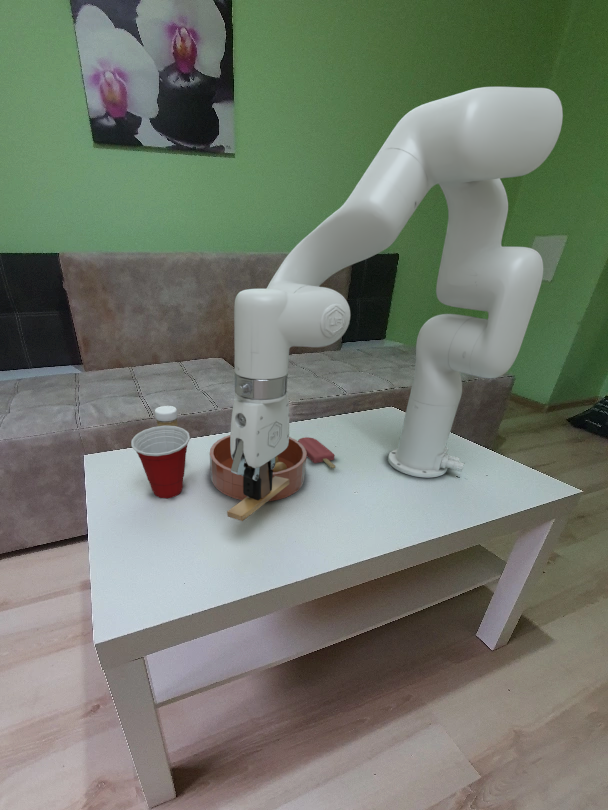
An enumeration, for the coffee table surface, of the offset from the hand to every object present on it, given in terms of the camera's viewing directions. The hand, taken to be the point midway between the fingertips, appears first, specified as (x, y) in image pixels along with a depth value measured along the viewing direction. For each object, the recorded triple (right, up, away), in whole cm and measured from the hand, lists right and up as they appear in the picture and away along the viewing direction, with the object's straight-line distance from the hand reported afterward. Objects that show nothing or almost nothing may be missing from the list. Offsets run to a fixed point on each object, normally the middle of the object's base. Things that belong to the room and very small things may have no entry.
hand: (257, 491), depth 65 cm
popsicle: (+15, +8, +27) cm, 31 cm away
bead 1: (+4, +6, +20) cm, 21 cm away
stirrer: (0, -1, 0) cm, 1 cm away
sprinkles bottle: (-19, +5, +22) cm, 30 cm away
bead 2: (+5, +4, +17) cm, 18 cm away
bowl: (0, +3, +18) cm, 19 cm away
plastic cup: (-18, 0, +13) cm, 22 cm away
